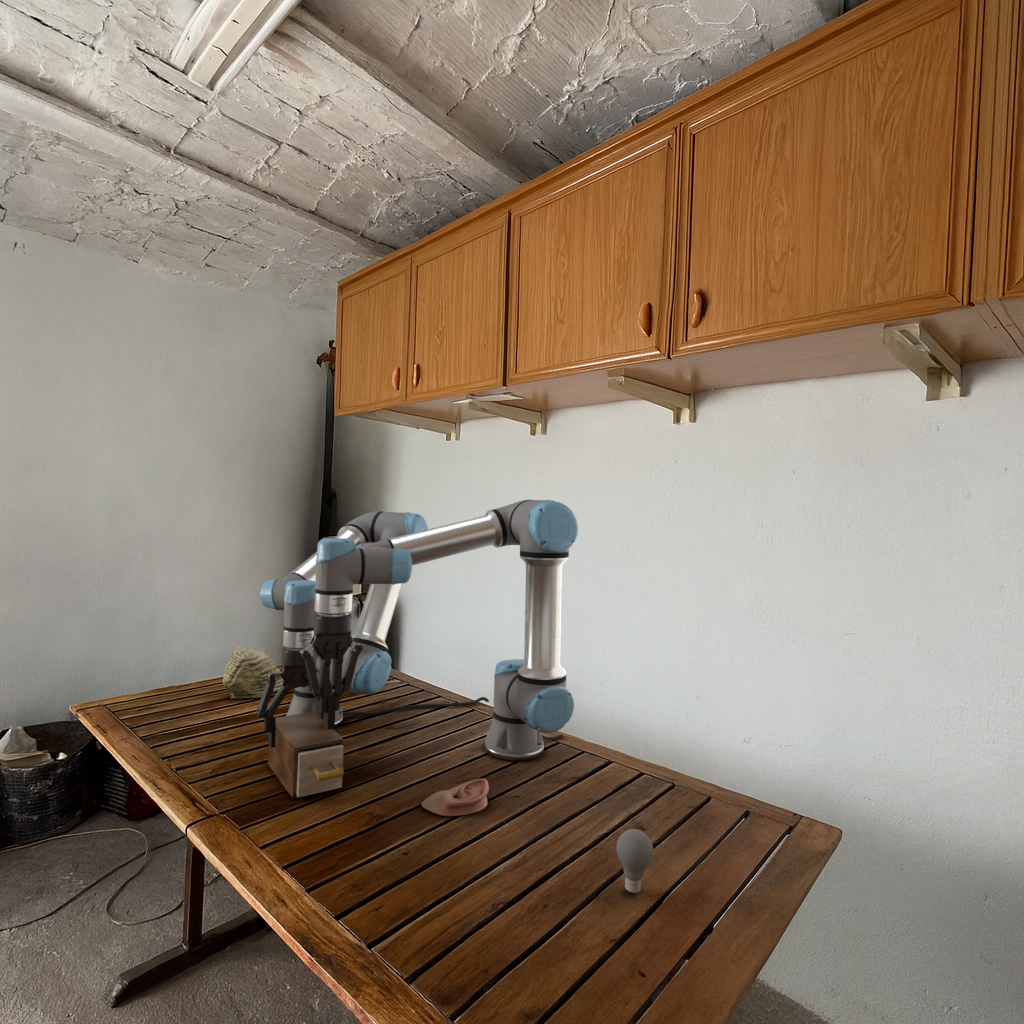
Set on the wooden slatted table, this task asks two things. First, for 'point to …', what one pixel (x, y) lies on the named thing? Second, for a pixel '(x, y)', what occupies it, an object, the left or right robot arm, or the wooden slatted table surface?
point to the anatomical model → (459, 799)
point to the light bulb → (634, 857)
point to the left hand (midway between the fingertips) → (296, 740)
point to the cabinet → (297, 745)
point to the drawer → (319, 769)
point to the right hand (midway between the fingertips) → (328, 726)
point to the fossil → (249, 673)
